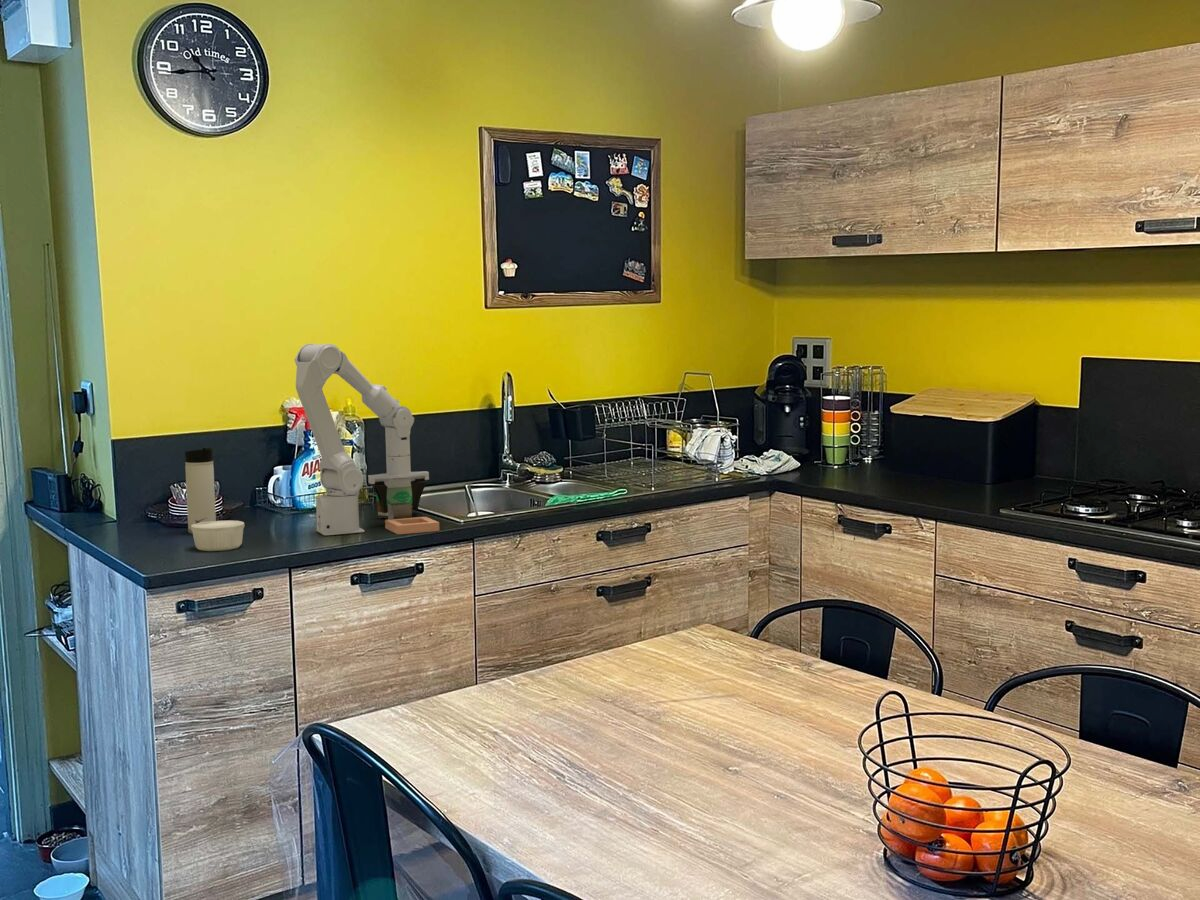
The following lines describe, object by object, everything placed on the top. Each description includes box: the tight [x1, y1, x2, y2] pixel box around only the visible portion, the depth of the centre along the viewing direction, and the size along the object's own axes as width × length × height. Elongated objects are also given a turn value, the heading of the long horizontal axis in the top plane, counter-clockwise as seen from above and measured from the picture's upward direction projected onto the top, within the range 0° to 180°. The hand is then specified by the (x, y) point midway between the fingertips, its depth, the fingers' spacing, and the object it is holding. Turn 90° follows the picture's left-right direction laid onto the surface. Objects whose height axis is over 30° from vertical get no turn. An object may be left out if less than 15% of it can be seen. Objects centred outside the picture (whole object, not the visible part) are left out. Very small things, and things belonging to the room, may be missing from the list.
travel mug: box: [184, 447, 217, 535], centre depth 278 cm, size 6×7×20 cm
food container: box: [375, 478, 414, 517], centre depth 299 cm, size 12×6×10 cm, turn 143°
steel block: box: [387, 502, 413, 520], centre depth 287 cm, size 4×4×5 cm
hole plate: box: [384, 516, 440, 535], centre depth 279 cm, size 10×10×2 cm
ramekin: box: [191, 520, 245, 552], centre depth 258 cm, size 11×11×5 cm
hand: (400, 511), depth 287 cm, fingers open, 7 cm apart
